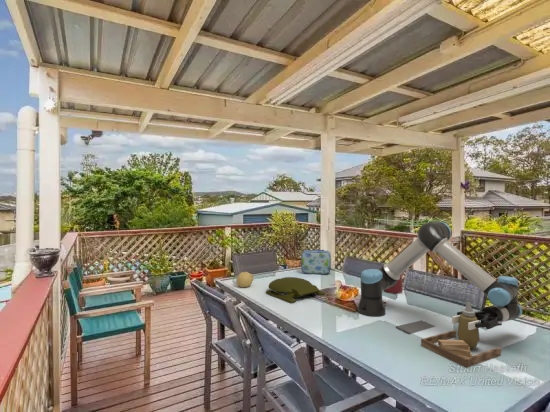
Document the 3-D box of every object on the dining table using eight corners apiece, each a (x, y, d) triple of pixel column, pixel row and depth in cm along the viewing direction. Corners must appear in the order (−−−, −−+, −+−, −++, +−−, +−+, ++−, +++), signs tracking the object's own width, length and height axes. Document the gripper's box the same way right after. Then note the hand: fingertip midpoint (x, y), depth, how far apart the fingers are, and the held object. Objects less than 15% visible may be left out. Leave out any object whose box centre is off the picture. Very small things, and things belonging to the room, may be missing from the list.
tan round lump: (255, 285, 240) (255, 271, 239) (245, 289, 229) (245, 274, 229) (243, 283, 246) (243, 269, 246) (233, 287, 236) (233, 272, 235)
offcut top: (438, 344, 133) (438, 339, 133) (462, 344, 132) (462, 340, 132) (443, 349, 129) (443, 344, 128) (468, 349, 128) (468, 344, 128)
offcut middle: (439, 346, 136) (439, 341, 136) (469, 351, 131) (469, 346, 131) (439, 350, 132) (439, 345, 132) (470, 356, 127) (470, 351, 127)
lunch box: (331, 272, 281) (331, 248, 281) (331, 275, 271) (331, 250, 270) (301, 271, 286) (301, 248, 285) (300, 274, 275) (300, 250, 275)
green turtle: (326, 295, 215) (326, 281, 215) (291, 304, 196) (291, 288, 196) (293, 284, 243) (293, 271, 243) (259, 292, 224) (259, 278, 224)
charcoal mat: (421, 321, 166) (421, 320, 166) (453, 334, 150) (453, 333, 150) (395, 327, 159) (395, 326, 159) (426, 342, 142) (426, 340, 142)
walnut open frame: (454, 338, 146) (454, 330, 146) (500, 358, 128) (501, 348, 128) (421, 348, 137) (421, 339, 137) (466, 370, 119) (466, 360, 119)
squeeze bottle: (452, 340, 138) (453, 299, 138) (470, 340, 139) (471, 299, 138) (465, 349, 130) (466, 306, 130) (484, 348, 131) (484, 305, 130)
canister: (402, 289, 227) (402, 264, 226) (403, 294, 214) (403, 268, 214) (383, 287, 231) (382, 263, 231) (382, 292, 219) (382, 267, 218)
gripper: (518, 331, 133) (484, 341, 123) (472, 315, 151) (439, 323, 141) (518, 313, 133) (484, 322, 123) (472, 299, 151) (439, 307, 141)
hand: (460, 323), depth 132 cm, fingers closed on squeeze bottle, 6 cm apart
